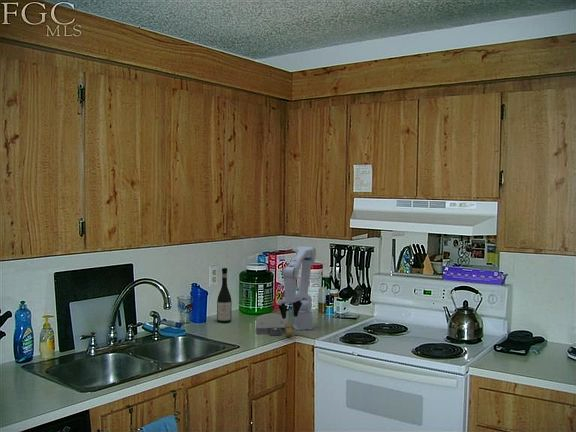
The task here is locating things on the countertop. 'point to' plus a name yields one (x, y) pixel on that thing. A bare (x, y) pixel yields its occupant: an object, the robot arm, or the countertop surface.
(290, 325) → the pin
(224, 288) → the wine bottle
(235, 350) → the countertop surface
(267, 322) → the hinge
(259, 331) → the lip
